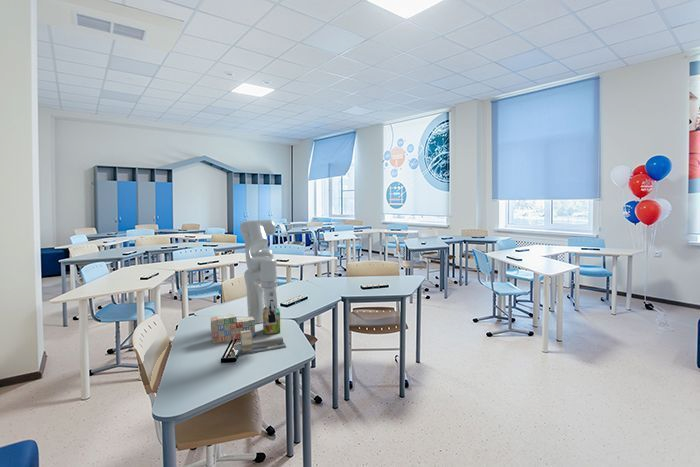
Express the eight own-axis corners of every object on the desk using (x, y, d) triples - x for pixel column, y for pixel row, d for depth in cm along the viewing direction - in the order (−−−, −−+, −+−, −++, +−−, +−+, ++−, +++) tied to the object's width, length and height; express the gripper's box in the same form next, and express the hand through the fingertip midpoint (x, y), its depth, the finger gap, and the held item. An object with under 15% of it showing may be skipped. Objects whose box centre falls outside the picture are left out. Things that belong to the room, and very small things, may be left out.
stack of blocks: (253, 333, 204) (252, 310, 202) (255, 336, 198) (254, 314, 197) (211, 339, 195) (210, 316, 194) (212, 344, 190) (210, 320, 188)
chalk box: (263, 335, 200) (262, 308, 198) (263, 329, 209) (261, 303, 207) (281, 333, 202) (279, 306, 201) (279, 327, 211) (278, 301, 210)
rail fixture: (232, 349, 182) (231, 331, 181) (281, 340, 191) (281, 324, 190) (234, 356, 174) (233, 337, 173) (285, 347, 183) (285, 329, 182)
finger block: (264, 322, 184) (263, 306, 184) (274, 321, 186) (273, 305, 186) (266, 325, 179) (265, 309, 179) (276, 324, 181) (275, 307, 181)
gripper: (280, 286, 175) (282, 324, 176) (273, 280, 191) (275, 315, 192) (264, 288, 172) (266, 327, 174) (258, 281, 188) (260, 317, 189)
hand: (270, 320), depth 183 cm, fingers closed on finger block, 5 cm apart
